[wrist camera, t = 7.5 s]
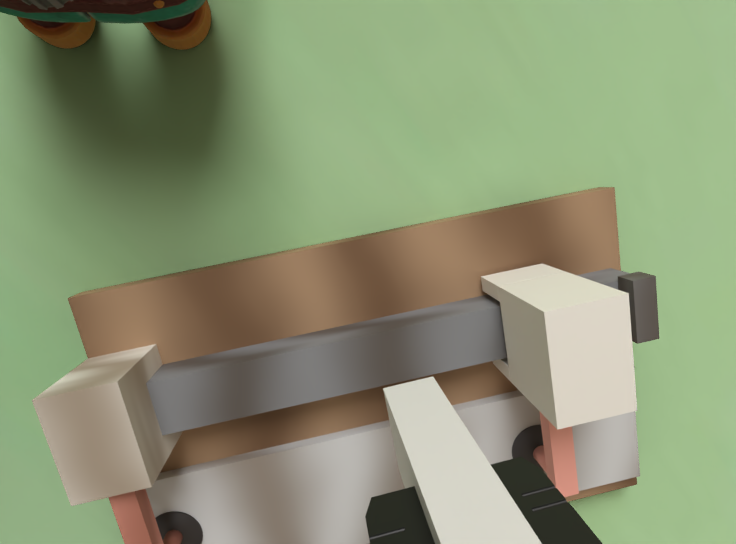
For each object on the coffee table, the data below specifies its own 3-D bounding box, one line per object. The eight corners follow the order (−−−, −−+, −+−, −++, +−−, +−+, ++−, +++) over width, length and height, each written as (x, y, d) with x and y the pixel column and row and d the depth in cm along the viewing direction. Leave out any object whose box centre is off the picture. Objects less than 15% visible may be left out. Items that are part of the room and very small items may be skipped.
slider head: (507, 461, 23) (571, 557, 17) (480, 276, 21) (544, 311, 15) (563, 448, 23) (646, 537, 17) (542, 263, 21) (628, 293, 15)
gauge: (177, 580, 24) (138, 687, 19) (82, 291, 21) (4, 326, 16) (622, 470, 26) (697, 541, 20) (598, 187, 22) (681, 187, 17)
